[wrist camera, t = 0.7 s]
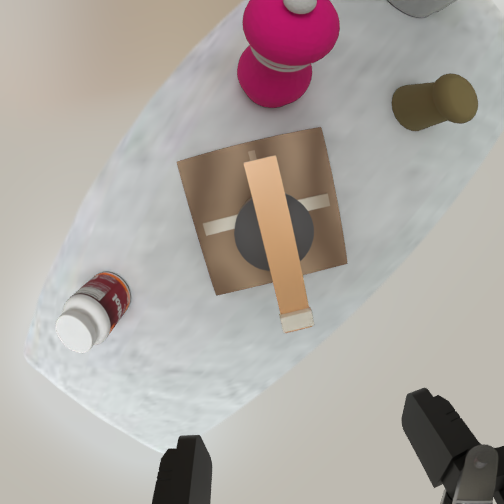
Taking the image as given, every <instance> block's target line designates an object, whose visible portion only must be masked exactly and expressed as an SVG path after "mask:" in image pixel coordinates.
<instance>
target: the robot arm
mask: <svg viewBox="0 0 504 504" xmlns="http://www.w3.org/2000/svg"><path fill="white" fill-rule="evenodd" d="M388 1H389V2H390V3H391V4H392V5H394V6H395V7H396V8H398V9H399V10H401V11H402V12H404V13H406V14H408V15H411V16H414V17H420V18H422V17H427V16H429V15H431V14H432V13H434V12H439V11H440V10H442V9H443V8H445V7H447V6H448V5H450V4H452V3H453V2H455V1H457V0H388ZM402 427H403V430H404V432H405V434H406V435H407V437H408V439H409V441H410V443H411V445H412V447H413V449H414V450H415V452H416V454H417V456H418V457H419V459H420V462H421V463H422V466H423V467H424V469H425V471H426V473H427V475H428V477H429V479H430V481H431V483H432V485H433V487H434V488H435V487H437V486H440V485H442V484H443V485H444V487H445V490H444V493H443V496H442V500H441V503H440V504H492V501H493V497H494V499H495V501H496V503H497V504H504V446H502V447H499V448H493V447H492V446H489V445H481V444H480V443H479V442H478V441H477V439H476V438H475V436H474V435H473V434H472V432H471V431H470V430H469V428H468V427H467V425H466V424H465V423H464V421H463V420H462V418H460V416H459V414H458V413H457V412H455V409H454V408H453V406H452V405H451V404H450V402H449V401H447V400H446V399H444V398H442V397H441V396H439V395H437V396H435V397H433V396H432V395H431V393H430V392H429V390H428V389H426V388H422V389H419V390H417V391H414V392H412V393H409V394H407V396H406V401H405V405H404V410H403V414H402ZM211 480H212V461H211V457H210V455H209V453H208V451H207V449H206V447H205V445H204V443H203V440H202V438H201V436H200V435H187V436H180V437H179V439H178V443H177V449H168V450H167V451H166V453H165V454H164V455H163V457H162V458H161V462H160V467H159V472H158V476H157V481H156V486H155V491H154V495H153V500H152V504H210V498H211Z"/></svg>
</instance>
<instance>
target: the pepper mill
mask: <svg viewBox="0 0 504 504" xmlns="http://www.w3.org/2000/svg"><path fill="white" fill-rule="evenodd" d="M243 30H244V33H245V36H246V39H247V41H248V42H249V44H250V45H249V46H248V47H247V48H246V50H245V51H244V52H243V53H242V55H241V57H240V60H239V63H238V69H237V75H238V80H239V83H240V85H241V87H242V88H243V90H244V91H245V92H246V94H247V96H248V97H249V98H250V99H251V100H252V101H253V102H255V103H256V104H258V105H261V106H263V107H269V108H276V107H281V106H283V105H286V104H289V103H292V102H294V101H296V100H297V99H298V98H300V97H301V96H302V95H303V94H304V93H305V91H306V90H307V88H308V86H309V84H310V81H311V77H312V66H311V63H314V62H316V61H318V60H320V59H322V58H323V57H324V56H325V55H327V54H328V53H329V52H330V51H331V50H332V48H333V47H334V45H335V43H336V41H337V38H338V36H339V30H340V26H339V18H338V14H337V12H336V10H335V8H334V6H333V5H332V3H331V2H330V1H329V0H250V1H249V3H248V5H247V7H246V8H245V11H244V15H243Z"/></svg>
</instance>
